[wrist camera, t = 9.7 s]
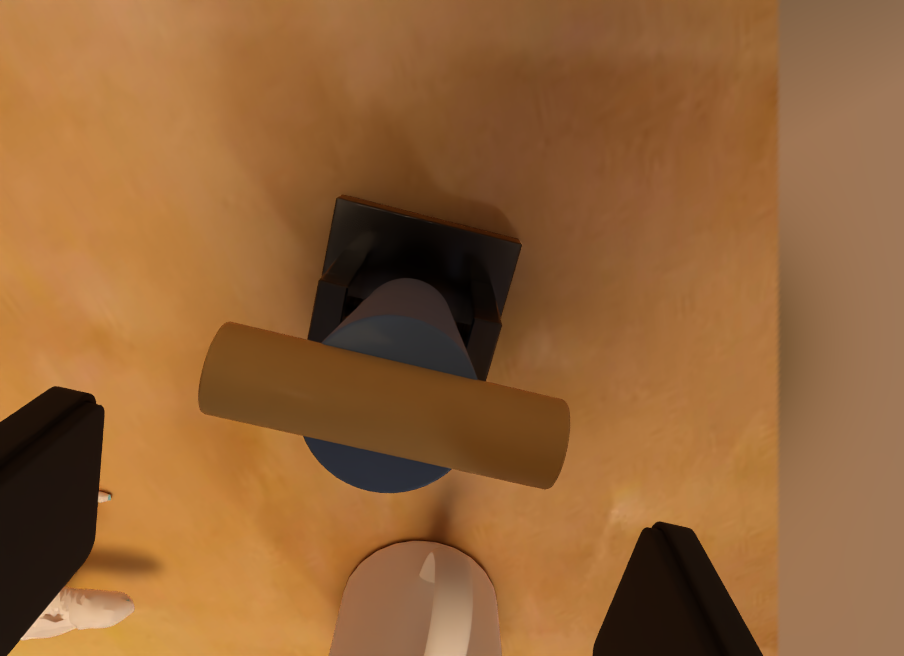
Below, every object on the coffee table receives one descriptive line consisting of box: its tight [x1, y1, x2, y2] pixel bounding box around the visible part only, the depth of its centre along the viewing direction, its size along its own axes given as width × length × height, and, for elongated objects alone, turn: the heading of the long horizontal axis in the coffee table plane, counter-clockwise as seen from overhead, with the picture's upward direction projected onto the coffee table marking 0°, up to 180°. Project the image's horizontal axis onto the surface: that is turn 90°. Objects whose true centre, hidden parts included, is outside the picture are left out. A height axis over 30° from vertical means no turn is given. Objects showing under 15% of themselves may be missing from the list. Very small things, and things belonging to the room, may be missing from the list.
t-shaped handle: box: [198, 278, 570, 493], centre depth 16 cm, size 12×6×3 cm
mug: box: [329, 541, 502, 656], centre depth 27 cm, size 12×8×10 cm, turn 168°
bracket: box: [307, 195, 522, 382], centre depth 24 cm, size 6×8×6 cm
